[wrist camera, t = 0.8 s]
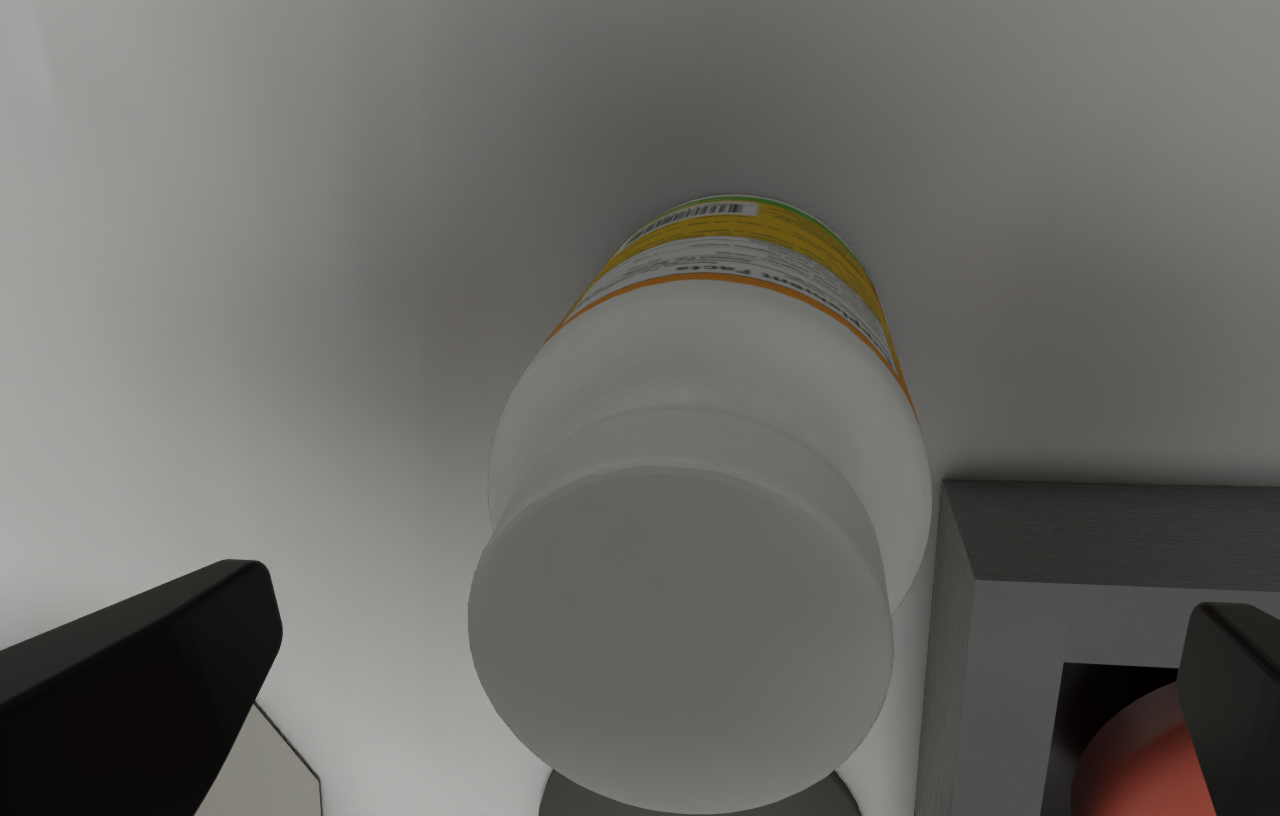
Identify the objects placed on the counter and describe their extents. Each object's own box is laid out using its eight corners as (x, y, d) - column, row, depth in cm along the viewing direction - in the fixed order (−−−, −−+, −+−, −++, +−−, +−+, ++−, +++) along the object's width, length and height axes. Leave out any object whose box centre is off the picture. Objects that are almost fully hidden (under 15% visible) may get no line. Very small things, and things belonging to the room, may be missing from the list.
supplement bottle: (774, 507, 18) (757, 951, 10) (547, 370, 18) (311, 700, 9) (942, 291, 16) (1123, 607, 7) (688, 129, 16) (555, 258, 7)
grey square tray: (1595, 495, 16) (1799, 613, 13) (1422, 935, 20) (1542, 1107, 17) (942, 480, 18) (975, 580, 14) (907, 887, 22) (928, 1035, 19)
